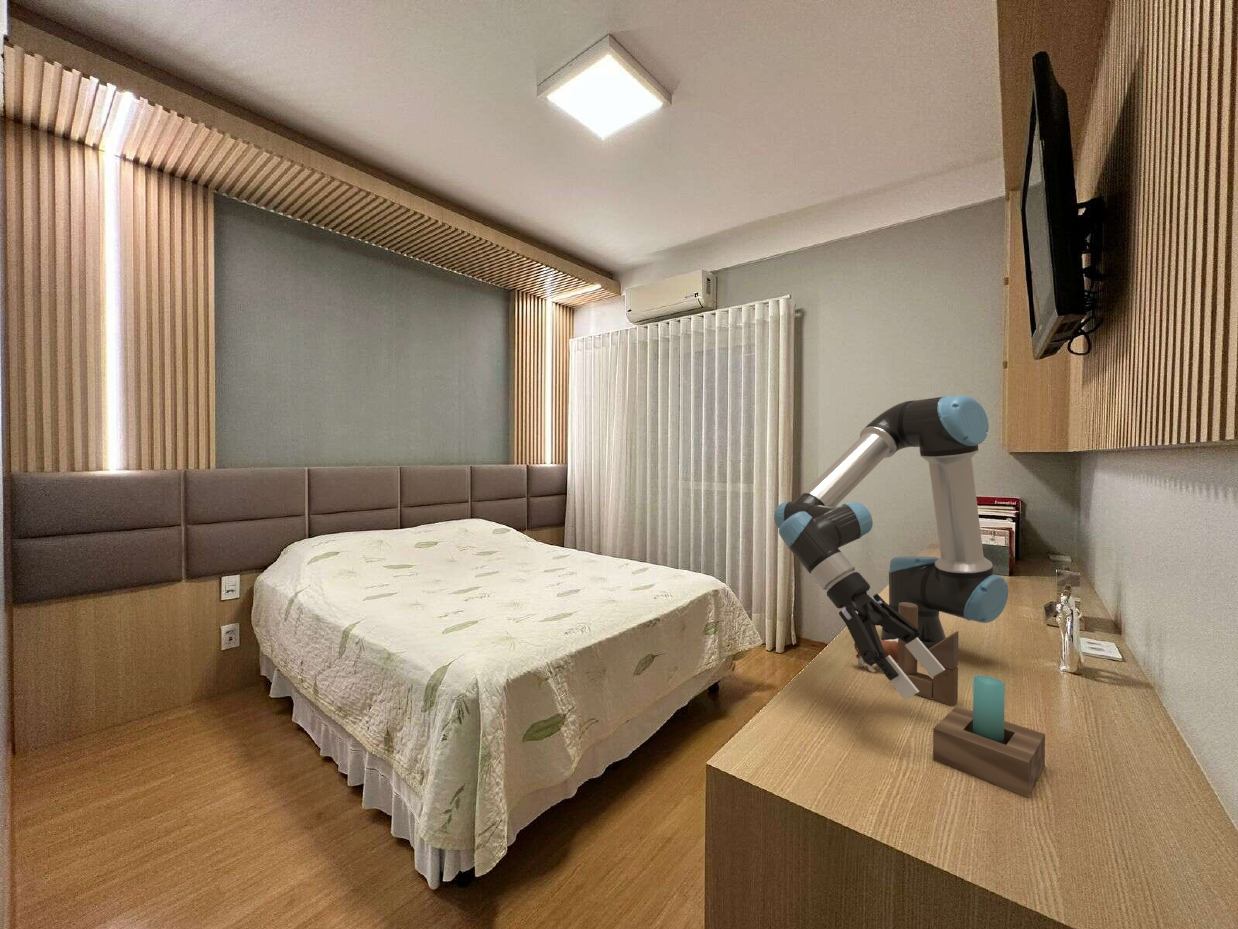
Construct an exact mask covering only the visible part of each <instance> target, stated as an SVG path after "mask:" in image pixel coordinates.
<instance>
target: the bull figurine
mask: <svg viewBox="0 0 1238 929" xmlns="http://www.w3.org/2000/svg"><path fill="white" fill-rule="evenodd" d="M880 641H881V643H882V646H883V649H884V652H885V654H886V657H887V656H889V655H890V656H891V657H892V658H893V660H894V661H895V662H896V663H897V664H898V639H894V640H892V639H891V640H883V639H880ZM853 644H854V645H853V647H854V649H855V651H856V655H855V657H856V659H857V665H858V666H859V667H860V668H862V667H863V668H864V667H865V665H866V666H867V669H868V671H870V672H871V671H872V672H871V673H873V672H876V673H877V671H876V670H875V669H874V667H873V665H872V666H870V665H869V664H868V663H866V662H865V661H864V660H863V658H862V656H861V654H860V652H859V650H858V648H857V646H856V644H855V642H854V643H853ZM886 657H885V658H886Z"/></svg>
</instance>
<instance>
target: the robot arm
mask: <svg viewBox="0 0 1238 929" xmlns="http://www.w3.org/2000/svg"><path fill="white" fill-rule="evenodd" d="M987 415H988V414H987V412H986V411H985V408H984V407H983V405H982V404H981V403H980V402H978V401H977V399H975V398H974V397H972V396H969V395H965V394H964V395H961V394H960V395H945V396H944V395H943V396H938V397H932V398H924V399H917V400H915V399H913V400H906V401H902V402H900V403H898V404H896V405H894V406H892V407H890V408H888V409H886V410H885V411H883V412H882V413H880V414H879V415H877V416H876V417H875V418H873V419H872V421H871V422H868V424H867V425H866V426H865V427H864V428H863V429H862V430H861V431H860V433H859V438H858V439H857V440H856V441H855V442H854V443H853V444H852V445H851V446H850V447H849V448H848V449H847V450H846V451H845V452H844V453H843V454H842V455H841V456H840V457H839V458H838V459H836V460H835V461H834V463H833V464H831V466H829V468H827V469H826V470H825V472H823V473H822V474H821V475H820V476H819V477H818V478H817V479H816V480H815V481H814V482H813V483H812V484H811V485H810V486H809V487H808V488H807V489H806V490H805V491H804V492H803V493H802V494H801V495H800V496H798V498H796V499H795V500H794V501H786V502H785V501H784V502H782V503H780V504H779V505H778V506H776V508H775V511H774V515H773V517H774V523H775V525H776V527H777V528H778V534H779V536H780V538H781V540H782V541H783V543H785V545H786V546H787V548H788V549H789V550H790V552H792V554H793V555H794V556H795V557H796V559H797V560H798V561H799V562H800V563H801V565H802V566H803V567H804V568H805V570H807V572H808V573H809V574H810V575H811V576H812V579H813V581H814V583H816V584H818V586H819V587H820V588H821V590H823V591H826V596H827V598H829V600H830V601H831V602H832V604H833V605H834V606H835V608H837V609H840V611H839V612H838V614H839V616H840V618H841V619H842V621H843V622H844V623H845V625H846V627H847V630H848V631H849V633H850V635H851V637H852V639H853V642H854V643H855V644H856V646H857V648H858V650H859V652H860V654H861V656H862V658H863V660H864V661H865V662H866V663H868V664H869V665H870V666H872V667H873V666H874V665H877V667H878V669H879V670H880V672H882V673H883V675H884V676H885V677H886V679H888V681H889V682H890V684H892V686H893V688H894V689H895V690H896V691H897V692H898V693H899V695H900V696H901V697H902V699H903V700H905V701H907V699H909V698H911V697H913V696H915V695H916V694H917V693H918V692H919V690H918V689H917V688H916V687H915V685H914V684H913V683H912V682H911V680H910V679H909V678H908V677H907V676H906V674H905V673H904V672H903V671H902V669H901V668H900V667H899V666H898V663H896V662H895V661H894V660H893V658H892V657H891V656H890V655H889V656H887V657H886V654H885V652H884V649H883V646H882V643H881V641H880V640H881V639H882V638H883V639H882V640H891V639H892V640H894V639H898V638H899V639H901V640H902V641H904V642H906V643H908V644H906V645H905V646H906V648H907V649H908V650H909V651H910V652H911V653H912V655H913V656H914V657H915V658H916V659H917V663H919V664H920V665H921V667H922V668H923V669H924V670H925V672H927V675H928V676H930V677H931V678H933V677H934V676H935V675H937V674H939V673H941V672H942V671H944V670H945V668H944V667H943V666H942V665H941V664H940V663H939V662H938V660H937V659H936V658H935V657H934V656H933V655H932V653H931V652H930V651H929V650H928V649H929V648H931V647H933V646H934V645H936V644H937V643H939V642H941V641H942V640H944V639H945V638H947V636H946V634H945V631H944V628H943V625H942V622H941V618H940V613H943V614H947V615H950V616H954V617H958V618H962V619H965V621H966V620H967V621H973V622H977V623H980V624H981V623H982V624H988V623H991V622H993V621H995V620H996V619H998V618H999V617H1000V616H1001V615H1002V613H1003V611H1004V610H1005V608H1006V605H1007V603H1008V600H1009V585H1008V583H1007V580H1005V578H1004V577H1003V576H1000V575H999V574H994V566H993V562H992V561H991V560H990V559H987V558H986V557H985V556H984V549H983V540H982V531H981V524H980V518H979V508H978V499H977V492H976V484H975V474H974V466H973V460H972V459H973V457H974V456H975V455H976V454H977V453H978V452H979V445H980V444H982V443H983V442H984V441H985V440H986V438H987V437H988V432H989V419H988V416H987ZM912 447H914V448H919V454H920V455H919V456H920V458H922V459H923V460H924V461H927V463H928V467H929V473H930V474H929V475H930V483H931V490H932V498H933V499H932V500H933V506H934V512H935V521H936V528H937V529H936V530H937V536H938V543H939V544H938V545H939V553H940V557H936V556H926V555H925V556H923V555H921V556H920V555H918V556H916V555H915V556H914V555H913V556H912V555H910V556H909V555H908V556H897V557H893V558H892V559H891V560H890V562H889V569H888V570H889V571H888V603H887V602H886V601H885V600H884V599H883V598H882V597H881V596H880V595H879V594H878V593H875V594H874V595H872V596H870V595H869V594H868V591H869V590H870V589H871V585H870V583H869V582H868V581H867V580H866V579H865V578H864V577H863V575H862V574H861V573H860V572H858V571H855V570H856V568H855V566H854V564H853V563H852V562H851V561H850V560H849V559H848V558H847V556H845V554H843V552H842V551H841V550H840V548H842V547H843V546H845V545H847V544H850V543H852V542H854V541H856V540H860V539H861V538H862V537H863V536H865V535H867V534H868V533H870V532H871V530H872V528H873V525H874V523H873V518H872V515H871V512H870V511H869V509H868V508H867V507H866V506H864V505H863V504H862V503H860V502H857V501H850V502H847V503H842V505H840V506H838V505H839V504H840V503H841V502H842V501H843V500H844V499H846V497H847V496H848V495H849V494H850V493H851V492H852V491H853V490H854V489H855V488H856V487H857V486H858V485H859V484H860V483H861V482H862V481H863V480H864V479H865V478H866V477H867V476H868V475H869V474H870V473H872V471H873V470H874V469H875V468H876V467H877V466H878V465H879V464H880V463H881V462H882V461H883V460H884V459H886V458H890V457H892V456H894V455H895V454H896V453H897V452H898V451H899V450H902V449H906V448H912ZM901 602H908V603H913V604H916V605H917V606H918V629H917V628H916V627H915V626H914V625H912V624H911V623H910V622H909V621H908V620H906V619H905V618H904V617H903V616H902V615H900V614H899V613H898V608H899V603H901ZM876 626H877V627H878V626H880V627H881V630H880V632H881V634H880V636H881V637H882V638H881V637H880V636H879V632H878V630H877V628H876ZM908 627H909V628H908ZM885 657H886V658H885ZM866 663H865V664H866Z"/></svg>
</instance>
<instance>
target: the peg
mask: <svg viewBox="0 0 1238 929" xmlns="http://www.w3.org/2000/svg"><path fill="white" fill-rule="evenodd" d="M972 678H973V683H972V684H973V686H972V687H973V689H972V690H973V691H972V692H973V694H972V696H973V698H972V701H973V702H972V711H973V734H976V735H979V736H982V737H985V738H988V739H991V740H993V741H996V742H999V743H1002V744H1004V721H1005V693H1006V692H1005V690H1006V689H1005V686H1006V684H1005V682H1004V681H1002V680H1000V679H998V678H996V677H992V676H988V675H982V674H981V675H974V676H973V677H972Z"/></svg>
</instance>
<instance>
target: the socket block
mask: <svg viewBox="0 0 1238 929" xmlns="http://www.w3.org/2000/svg"><path fill="white" fill-rule="evenodd" d="M932 730H933V732H932V734H933V735H932V738H933V739H932V740H933V741H932V760H933V761H936V762H938V763H941V764H944V765H945V766H948V767H949V768H953V769H956V770H958V771H961V772H963V773H965V774H967V775H970V776H973V777H975V778H979V779H980V780H982V781H986V782H988V783H990V784H993V785H995V786H998V787H1000V788H1003V789H1005V790H1008V791H1010V792H1012V793H1015V794H1018V795H1019V796H1022V797H1025V798H1029V797H1030V795H1031V793H1032V791H1033V790H1034V787H1035V785H1036V784H1037V782H1038V780H1039V777H1040V776H1041V773H1042V772H1043V770H1044V768H1045V766H1046V765H1045V764H1046V733H1044V732H1040V731H1038V730H1034V729H1032V728H1028V727H1025V726H1021V725H1018V724H1015V723H1013V722H1010V721H1006V720H1004V744H1002V743H999V742H996V741H993V740H991V739H988V738H985V737H982V736H979V735H976V734H973V709H972V710H971V709H968V708H966V707H964V706H963V707H962V706H960V705H959V706H958V705H956V706H955V707H953V708H952V710H950V711H949V713H947V715H946V716H944V717H943V718H942V719H941V720H940V721H939V722H938V723H937V724H935V726H934V727H933V728H932Z"/></svg>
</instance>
